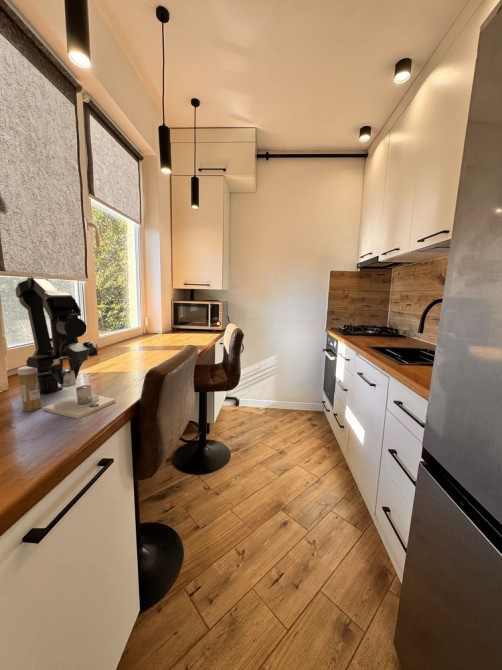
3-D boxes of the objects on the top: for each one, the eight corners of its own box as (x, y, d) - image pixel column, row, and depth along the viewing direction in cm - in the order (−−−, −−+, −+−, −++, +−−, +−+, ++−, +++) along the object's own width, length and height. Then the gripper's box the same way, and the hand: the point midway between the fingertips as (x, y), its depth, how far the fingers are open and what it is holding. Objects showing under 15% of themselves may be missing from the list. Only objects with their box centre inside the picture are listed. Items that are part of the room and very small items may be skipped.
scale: (43, 410, 80) (43, 405, 80) (83, 395, 92) (83, 391, 92) (77, 418, 75) (77, 413, 75) (115, 401, 87) (115, 397, 87)
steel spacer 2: (74, 403, 82) (73, 388, 81) (86, 399, 85) (85, 384, 85) (83, 405, 80) (82, 390, 79) (95, 401, 84) (94, 386, 83)
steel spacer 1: (57, 386, 83) (56, 371, 83) (70, 382, 87) (68, 368, 86) (66, 388, 82) (64, 372, 81) (78, 384, 86) (77, 369, 85)
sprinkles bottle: (40, 409, 81) (35, 367, 79) (21, 413, 78) (15, 369, 76) (42, 404, 85) (37, 364, 83) (24, 407, 82) (18, 366, 80)
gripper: (47, 340, 71) (54, 395, 73) (107, 332, 88) (111, 376, 90) (22, 338, 75) (28, 390, 77) (84, 330, 92) (88, 373, 94)
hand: (67, 382), depth 84 cm, fingers closed on steel spacer 1, 4 cm apart
